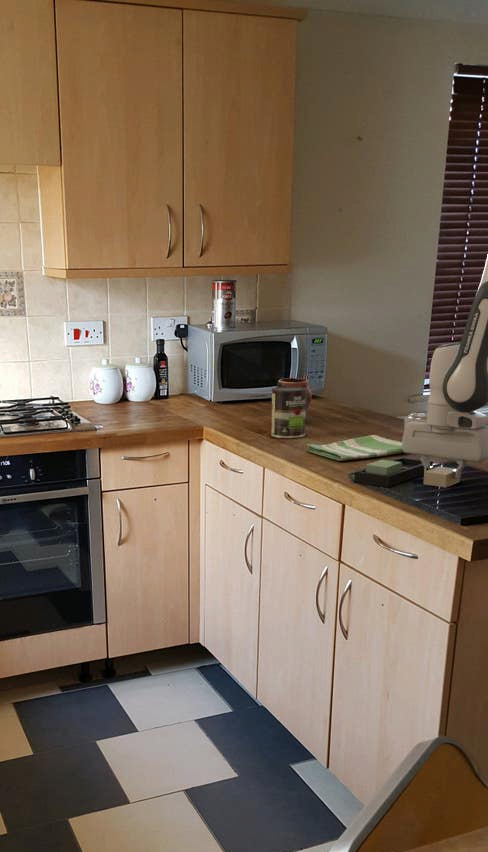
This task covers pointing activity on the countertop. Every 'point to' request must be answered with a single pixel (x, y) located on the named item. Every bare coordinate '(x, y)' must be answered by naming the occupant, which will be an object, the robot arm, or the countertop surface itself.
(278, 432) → the coffee can
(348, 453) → the dish towel
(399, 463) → the sage pad
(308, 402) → the decorative planter
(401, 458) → the divided tray
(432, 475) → the cream pad
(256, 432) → the countertop surface
